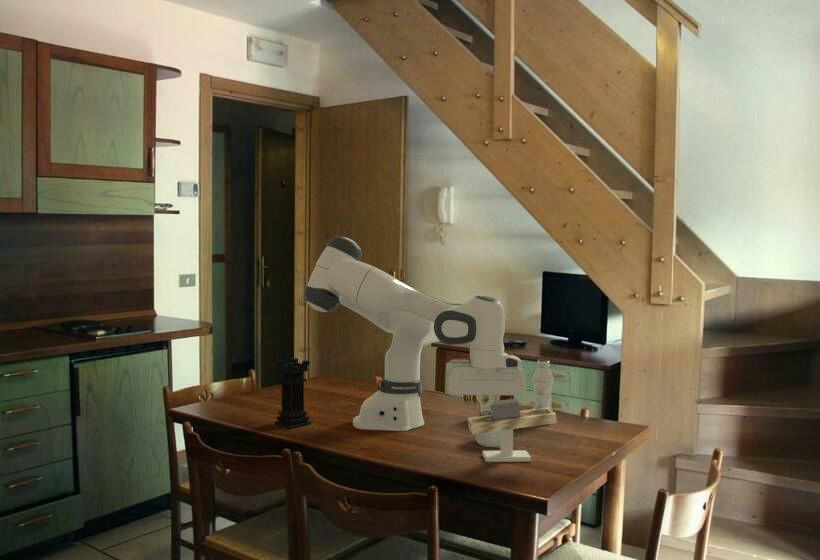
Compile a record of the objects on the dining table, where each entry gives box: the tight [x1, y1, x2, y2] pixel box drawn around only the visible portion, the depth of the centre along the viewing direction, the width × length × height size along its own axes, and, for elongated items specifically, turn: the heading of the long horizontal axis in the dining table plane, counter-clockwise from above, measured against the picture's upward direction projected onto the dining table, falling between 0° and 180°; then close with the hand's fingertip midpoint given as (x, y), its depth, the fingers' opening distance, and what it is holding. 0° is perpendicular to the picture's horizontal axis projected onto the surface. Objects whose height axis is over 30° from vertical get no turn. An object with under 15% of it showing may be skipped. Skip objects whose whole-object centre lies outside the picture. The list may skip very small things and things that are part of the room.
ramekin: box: [474, 431, 501, 448], centre depth 216 cm, size 11×11×5 cm
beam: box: [467, 407, 558, 435], centre depth 196 cm, size 22×7×3 cm, turn 94°
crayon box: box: [478, 395, 498, 417], centre depth 241 cm, size 7×3×12 cm, turn 20°
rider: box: [491, 398, 521, 421], centre depth 195 cm, size 7×4×5 cm, turn 93°
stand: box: [482, 429, 532, 463], centre depth 202 cm, size 12×6×13 cm, turn 94°
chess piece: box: [274, 357, 312, 430], centre depth 233 cm, size 8×8×20 cm
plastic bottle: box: [532, 359, 554, 410], centre depth 239 cm, size 6×7×20 cm
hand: (485, 411), depth 195 cm, fingers closed
